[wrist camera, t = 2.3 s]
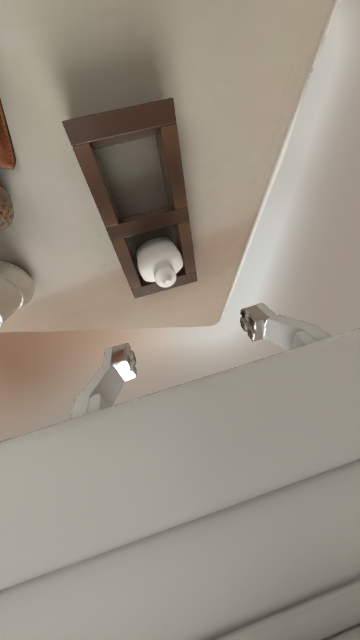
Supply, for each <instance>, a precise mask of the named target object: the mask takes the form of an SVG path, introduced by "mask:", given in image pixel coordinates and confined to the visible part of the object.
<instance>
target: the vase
mask: <svg viewBox="0 0 360 640" xmlns="http://www.w3.org/2000/svg"><path fill="white" fill-rule="evenodd" d="M13 216H14V211H13V205H12V202H11V199H10V197H9V196H8V194H7V192H6V191H5V189H4V188H3V187H2V186H1V184H0V234H1V233H3V232H4V231H6V230H7V229H8V228H9V226H10V225H11V223H12V220H13Z"/></svg>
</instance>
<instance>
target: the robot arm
mask: <svg viewBox="0 0 360 640" xmlns="http://www.w3.org/2000/svg"><path fill="white" fill-rule="evenodd" d="M240 314H241V315H242V317H241V318H240V323H241V327H242V328H243V330H244V331H246V332H248V336H249V337H250V339H251V340H252V341H256V340H260V339H263V338H264V339H266V340H268V341H270V342H272V343H274V344H276V345H278V346H280V347H282V348H284V349H286V350H288V351H285V352H282V353H279V354H276V355H273V356H269V357H266V358H263V359H260V360H257V361H254V362H250V363H247V364H244V365H241V366H238V367H234V368H231V369H228V370H225V371H222V372H219V373H216V374H212V375H209V376H206V377H203V378H200V379H197V380H193V381H191V382H187V383H184V384H181V385H178V386H174V387H171V388H168V389H165V390H162V391H159V392H155V393H152V394H149V395H146V396H143V397H140V398H137V399H133V400H130V401H127V402H124V403H121V404H118V405H114V406H112V405H113V403H114V401H115V399H116V398H117V396H118V394H119V392H120V390H121V388H122V386H123V384H124V381H127V380H130V379H133V378H136V377H137V375H136V368H135V365H136V359H135V355H134V353H133V351H132V350H130V345H129V344H128V343H126V344H122V345H118V346H115V347H112V348H108V349H106V350H105V352H104V359H103V365H102V368H101V369H99V370H98V372H97V373H96V374H95V375H94V377H93V378H92V379H91V381H90V382H89V383H88V384H87V386H86V387H85V388H84V389H83V390H82V392H81V393H80V394H79V395H78V397H77V398H76V399H75V400H74V404H73V407H72V411H71V415H70V419H69V420H67V421H64V422H61V423H58V424H54V425H51V426H48V427H45V428H42V429H39V430H36V431H33V432H29V433H26V434H23V435H20V436H16V437H13V438H10V439H6V440H3V441H0V640H360V328H358V329H355V330H351V331H348V332H346V333H342V334H339V335H336V336H333V337H332V336H331V335H330V334H328V333H327V332H326V331H324V330H323V329H321V328H320V327H319V326H317V325H314V324H311V323H307V322H303V321H300V320H296V319H293V318H289V317H285V316H282V315H276V314H275V313H274V312H273V311H272V310H270V309H269V308H268V307H267V306H266V305H265V304H263V303H260V304H257V305H254V306H251V307H247V308H244V309H241V313H240Z"/></svg>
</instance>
